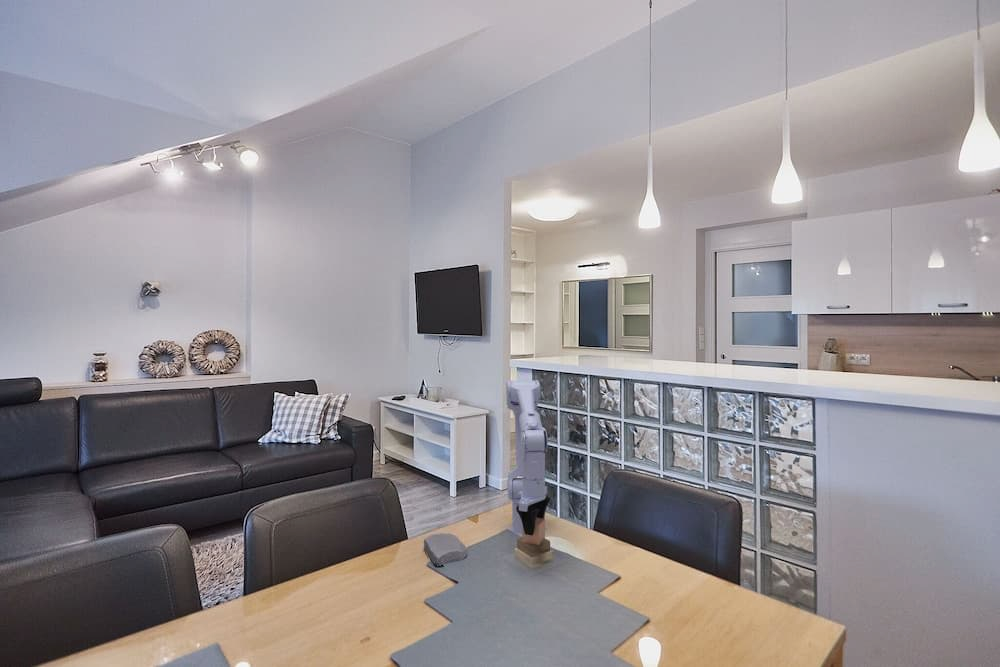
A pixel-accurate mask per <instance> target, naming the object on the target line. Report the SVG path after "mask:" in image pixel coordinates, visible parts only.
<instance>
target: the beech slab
mask: <svg viewBox="0 0 1000 667" xmlns="http://www.w3.org/2000/svg"><path fill="white" fill-rule="evenodd" d="M513 550H514V552H513V553H514V558H515V559H517V560H518V561H520V562H522V563H523V564H525V565H526V566H528V567H530V568H531V569H533V568H535V567H538V566H541V565H543V564H546V563H549V562H551V561H553V554H554V550H552V549H550V551H549V552H546V553H543V554H540V555H537V556H535V557H530V556H529V555H527V554H525V553H524V552H522V551H520V550H519V549H517V547H515V548H514V549H513Z"/></svg>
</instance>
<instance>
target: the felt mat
mask: <svg viewBox="0 0 1000 667" xmlns="http://www.w3.org/2000/svg"><path fill="white" fill-rule="evenodd" d="M500 558H501V559H503V560H504V561H506V562H508V563H509V564H511V565H512V566H514V567H515V568H517V569H519V570H520V571H522V572H523V573H524V574H526V575H528V576H529V577H532V576H535V575H537V574H540V573H542V572H546V571H548V570H551V569H553V568H555V567H556V568H557V567H558V566H560V565H563V564H565V563H567V561H566V560H564V559H562V558H561V557H559V556H557V555H555V554H554V553H553V561H551V562H549V563H546V564H543V565H541V566H538V567H535V568H533V569H531V568H530V567H528V566H526V565H525V564H523V563H522V562H520V561H518V560H517V559H515V558H514V552H511V553H508V554H505V555H502V556H500Z"/></svg>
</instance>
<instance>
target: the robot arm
mask: <svg viewBox="0 0 1000 667" xmlns="http://www.w3.org/2000/svg"><path fill="white" fill-rule="evenodd" d="M505 389H506V390H505V393H506V394H505V397H506V406H507V409H509V410H511V411H512V412H513V416H514V425H515V428H514V429H515V430H514V431H515V432H514V433H515V454H516V455H515V457H516V461H515V462H516V466H515V467H513V468H512V469H511V470H510V471H509V472H508V474H507V482H506V484H507V485H506V487H507V498H508V500H509V501H512V502H511V503H512V504H511V505H512V507H511V512H512V513H511V514H512V515H511V517H512V518H511V520H512V521H511V525H510V526H506V527H505V528H506V529H507V530H509V531H511V532H512V533H514V534H515V535H517V536H519V537H520V538H521V537H522V524H523V529H524V532H525V534H526V535H531V536H532V535H533V534H534V529H535V521H536V517H537V518H542V519H545V520H546V512H547V508H548V505H549V503H550V501H551V497H550V496H546V495H547V494H548V486H547V485H546V453H547V452H548V443H549V440H548V434H547V433H548V432H547V430H546V429H545V427H543V424H542V420H541V415H540V414H539V412H538V411H536V409H537V408H538V405H539V402H540V399H541V384H540V381H539V380H537V379H535V380H507V382H506V387H505ZM547 529H548V528H547V527H545V531H546V530H547Z"/></svg>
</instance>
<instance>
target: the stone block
mask: <svg viewBox="0 0 1000 667" xmlns="http://www.w3.org/2000/svg"><path fill="white" fill-rule="evenodd" d="M467 549H468V548H467V547H466V545H465V543H463V541H461V540H460V539H459V537H457V536H456V535H455V534H453V533H443V532H439V533H434V534H430V535H428V536H426V537H425V538H424V539H423V550H424V552H425V553H426V555H427V557H428V558H429V557H430V558H429V559H430V560H431V562H432V563H434V564H435V565H434V564H433V565H434V566H436V565H438V566H440V565H444V564H448V563H451V562H454V561H455V562H456V561H462V560H464V559H465V557H466V556H467V552H468V550H467ZM438 566H437V567H438Z"/></svg>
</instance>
